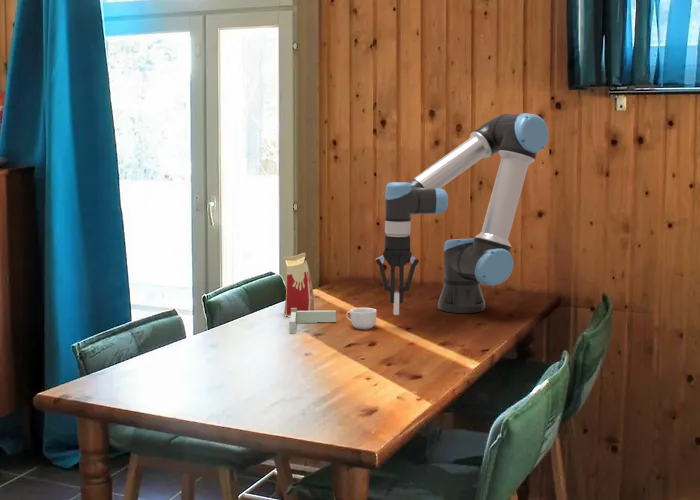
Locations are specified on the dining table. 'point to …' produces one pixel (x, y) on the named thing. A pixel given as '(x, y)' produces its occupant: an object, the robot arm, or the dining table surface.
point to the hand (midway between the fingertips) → (396, 313)
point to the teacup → (362, 317)
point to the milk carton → (298, 285)
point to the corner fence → (310, 317)
